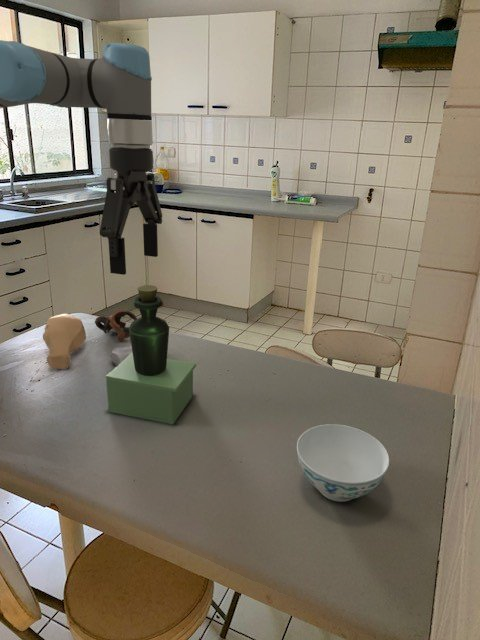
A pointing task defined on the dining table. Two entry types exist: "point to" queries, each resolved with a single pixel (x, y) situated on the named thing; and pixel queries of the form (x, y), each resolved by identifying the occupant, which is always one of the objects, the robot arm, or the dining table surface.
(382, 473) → the chinaware
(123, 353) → the stone block
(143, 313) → the potion bottle
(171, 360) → the chest lid
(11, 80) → the robot arm
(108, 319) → the brown curved loop piece
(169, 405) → the chest
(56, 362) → the squash
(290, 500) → the dining table surface
